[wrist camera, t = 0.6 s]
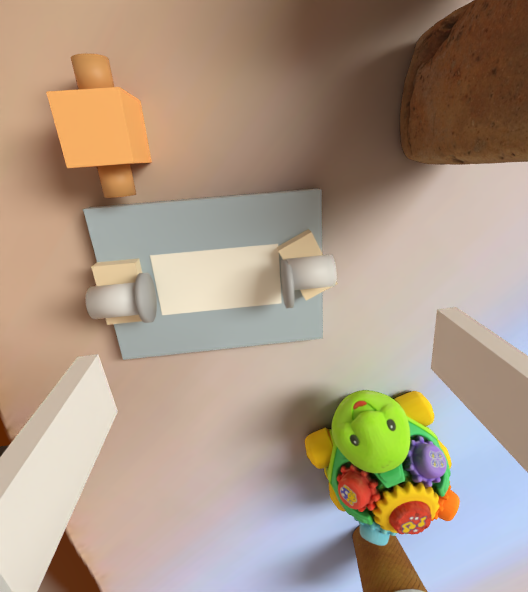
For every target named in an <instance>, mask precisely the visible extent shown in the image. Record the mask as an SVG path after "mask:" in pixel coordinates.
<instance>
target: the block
mask: <svg viewBox="0 0 528 592" xmlns="http://www.w3.org/2000/svg"><path fill="white" fill-rule="evenodd" d="M400 133H401V145H402V149H403V151H404V154H405V156H406V157H407V158H409V159H411V160H414V161H417V162H421V163H427V164H481V163H504V162H528V0H474V1H472V2H471V3H469V4H467V5H465V6H463V7H461V8H459V9H457V10H455V11H454V12H452V13H451V14H449V15H448V16H447V17H445V18H444V19H442V20H440V21H439V22H437V23H436V24H435V25H434V26H432V27H431V28H430V29H429V30H427V31H426V32H425V33H424V34H423V35H422V36H421V37H420V38H419V40H418V42H417V44H416V46H415V50H414V54H413V57H412V60H411V63H410V67H409V70H408V73H407V76H406V79H405V84H404V90H403V96H402V103H401V111H400Z"/></svg>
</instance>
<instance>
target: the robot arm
mask: <svg viewBox="0 0 528 592" xmlns="http://www.w3.org/2000/svg"><path fill="white" fill-rule="evenodd" d="M431 369H432V370H433V371H434V372H435V373H436V374H437V376H438V377H439V378H440V379H441V380H442V381H443V382H444V383H445V384H446V385H447V386H448V387H449V388H450V390H451V391H452V392H453V393H454V394H455V395H456V396H457V397H458V398H459V399H460V400H461V401H462V402H463V404H464V405H465V406H466V407H467V408H468V409H469V410H470V411H471V412H472V413H473V414H474V415H475V416H476V417H477V419H478V420H479V421H480V422H481V423H482V424H483V425H484V426H485V427H486V428H487V429H488V430H489V431H490V433H491V434H492V435H493V436H494V437H495V438H496V439H497V440H498V441H499V442H500V443H501V444H502V445H503V447H504V448H505V449H506V450H507V451H508V452H509V453H510V454H511V455H512V456H513V457H514V458H515V459H516V461H517V462H518V463H519V464H520V465H521V466H522V467H523V468H524V469H525V470H526V471H527V472H528V356H527V355H526V354H524V353H523V352H521V351H520V350H518V349H517V348H515V347H514V346H513V345H511V344H510V343H508V342H507V341H505V340H504V339H502V338H501V337H499V336H498V335H496V334H495V333H493V332H492V331H490V330H489V329H487V328H486V327H485V326H483V325H482V324H480V323H479V322H477V321H476V320H474V319H473V318H471V317H470V316H468V315H467V314H465V313H464V312H462V311H461V310H460V309H458V308H457V307H454V308H446V309H438V310H437V316H436V325H435V334H434V344H433V353H432V362H431ZM117 412H118V411H117V408H116V405H115V402H114V399H113V396H112V393H111V390H110V387H109V384H108V382H107V379H106V376H105V373H104V370H103V367H102V364H101V361H100V358H99V355H98V354H95V355H87V356H80V357H77V358H76V359H75V361H74V362H73V363H72V365H71V366H70V367H69V369H68V370H67V371H66V372H65V374H64V375H63V376H62V378H61V379H60V380H59V382H58V383H57V384H56V385H55V387H54V388H53V389H52V391H51V392H50V393H49V395H48V396H47V397H46V398H45V400H44V401H43V402H42V404H41V405H40V406H39V408H38V409H37V410H36V411H35V413H34V414H33V415H32V417H31V418H30V419H29V421H28V422H27V423H26V424H25V426H24V427H23V428H22V430H21V431H20V432H19V434H18V435H17V436H16V437H15V439H14V440H13V441H12V443H11V444H10V445H8V446H1V447H0V592H37V591H38V589H39V586H40V584H41V582H42V580H43V577H44V575H45V573H46V571H47V568H48V566H49V564H50V562H51V560H52V557H53V555H54V553H55V551H56V548H57V546H58V544H59V541H60V539H61V537H62V535H63V533H64V531H65V528H66V526H67V524H68V522H69V519H70V517H71V515H72V513H73V510H74V508H75V506H76V504H77V502H78V499H79V497H80V495H81V493H82V490H83V488H84V486H85V484H86V481H87V479H88V477H89V475H90V472H91V470H92V468H93V466H94V464H95V461H96V459H97V457H98V455H99V452H100V450H101V448H102V446H103V443H104V441H105V439H106V437H107V435H108V432H109V430H110V428H111V426H112V423H113V421H114V419H115V417H116V414H117Z"/></svg>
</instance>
